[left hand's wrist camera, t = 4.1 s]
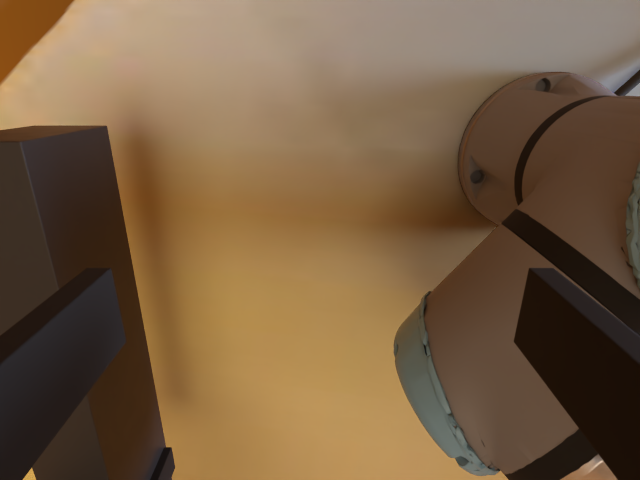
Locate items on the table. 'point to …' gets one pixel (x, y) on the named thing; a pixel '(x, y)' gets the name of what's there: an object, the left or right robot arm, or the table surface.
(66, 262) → the bar
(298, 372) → the table surface
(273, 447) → the table surface
